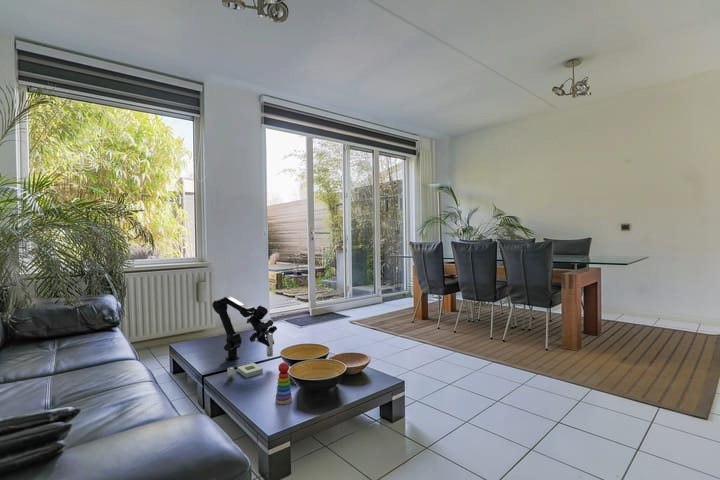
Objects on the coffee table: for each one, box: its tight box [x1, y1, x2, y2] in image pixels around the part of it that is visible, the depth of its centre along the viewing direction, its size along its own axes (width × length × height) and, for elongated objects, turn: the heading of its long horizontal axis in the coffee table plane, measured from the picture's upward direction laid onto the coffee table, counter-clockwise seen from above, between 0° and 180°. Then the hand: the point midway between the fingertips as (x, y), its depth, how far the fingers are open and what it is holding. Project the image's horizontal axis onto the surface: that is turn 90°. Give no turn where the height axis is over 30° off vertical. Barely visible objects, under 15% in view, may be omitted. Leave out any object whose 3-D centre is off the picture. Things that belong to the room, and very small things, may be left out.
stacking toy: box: [274, 361, 293, 406], centre depth 175 cm, size 8×8×19 cm
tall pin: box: [266, 333, 274, 358], centre depth 218 cm, size 4×4×13 cm
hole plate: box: [236, 362, 264, 379], centre depth 211 cm, size 12×10×2 cm
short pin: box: [226, 366, 235, 381], centre depth 201 cm, size 4×4×6 cm
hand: (271, 345), depth 217 cm, fingers closed on tall pin, 4 cm apart
